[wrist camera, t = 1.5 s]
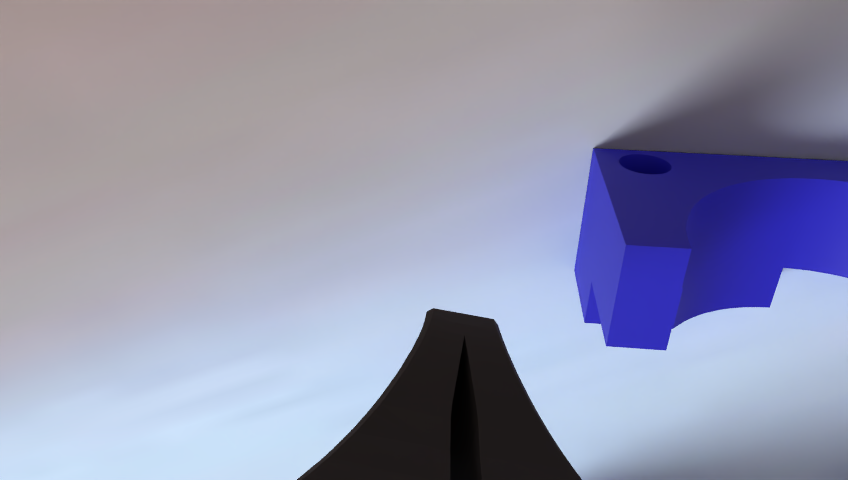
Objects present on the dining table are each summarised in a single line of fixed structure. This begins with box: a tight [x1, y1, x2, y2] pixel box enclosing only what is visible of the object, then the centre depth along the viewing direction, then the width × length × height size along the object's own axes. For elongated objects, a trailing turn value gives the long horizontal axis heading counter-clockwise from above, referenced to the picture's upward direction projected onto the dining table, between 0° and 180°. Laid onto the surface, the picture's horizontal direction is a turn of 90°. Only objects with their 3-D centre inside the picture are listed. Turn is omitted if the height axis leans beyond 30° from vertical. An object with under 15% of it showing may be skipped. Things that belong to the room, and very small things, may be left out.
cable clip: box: [575, 148, 848, 350], centre depth 19 cm, size 12×4×6 cm, turn 89°
